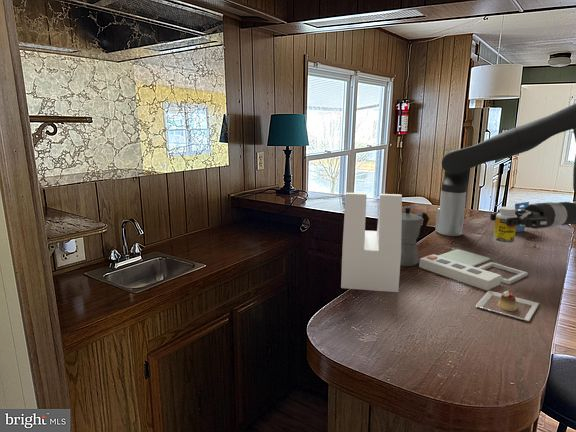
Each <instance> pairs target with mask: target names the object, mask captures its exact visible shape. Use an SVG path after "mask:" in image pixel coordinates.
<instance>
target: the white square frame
mask: <svg viewBox="0 0 576 432" xmlns="http://www.w3.org/2000/svg"><path fill="white" fill-rule="evenodd" d="M493 267H494V268H497V269H499V270H503V271H506V272H508V273H509V272H510V273H513V274H515V275H514V276H511V277H509V278H505V277H502V276H501V281H500V283H504V284H507V285H511V284H513V283H515V282H517V281H520V280H521V279H523V278H525V277H528V272H527V271H523V270H520V269H517V268H513V267H510V266H506V265H503V264H501V263H497V262H494V261H490V262H488V263H485V264H483V265H481V266H480V265H479V267H477V268H480V269H483V270H487V269H490V268H493Z"/></svg>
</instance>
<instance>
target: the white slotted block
mask: <svg viewBox="0 0 576 432" xmlns="http://www.w3.org/2000/svg"><path fill="white" fill-rule="evenodd" d="M379 194H380V195H379V203H378V204H379V205H378V214H377V215H378V217H377V226H376V227H377V228H376V230H366V217H367V216H366V215H367V195H368V194H367V193H365V192H345V197H344V199H345V200H344V202H345V203H344V219H343V233H342V250H341V251H342V256H341V278H340V279H341V281H340V283H341V284H340V288H341V289H351V290H365V291H374V292H375V291H378V292H387V293H388V292H391V293H399V286H400V274H401V273H400V272H401V265H400V261H401V228H402V213H403V196H402V195H403V194H398V193H397V194H396V193H391V194H390V193H379Z"/></svg>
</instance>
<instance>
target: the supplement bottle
mask: <svg viewBox="0 0 576 432" xmlns="http://www.w3.org/2000/svg"><path fill="white" fill-rule="evenodd" d="M499 209H500V213H498V214H497V215H496V220H494V222H495V223H494V230H493V237H492V239H493V241H494V243H498V244H501V245H512V244H513V243H514V242H515V238H516V237H515V236H516V232H515V231H516V225H515V226H507V225H506V222H507V218H513V217H517V216H516V215H515V210H516V209H515V207H511V206H501V207H499Z"/></svg>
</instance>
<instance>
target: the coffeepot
mask: <svg viewBox="0 0 576 432" xmlns="http://www.w3.org/2000/svg"><path fill="white" fill-rule="evenodd" d="M404 210H405V212H402V228H401V261H400V267H401V266H403V267H412V266H417V265H418V264H419V263H420V258H419V250H418V249H419V248H418V243H417V239H420V238H422V237H423V236H424V235H425V234H424V233H425V232H426V228H427V225H428V222H429V221H430V220H429V218H430V217H429V215H428V214H427V213H426V212H421V213H420V212H417V213H415V214H414V213H411V208H410V207H405V209H404Z"/></svg>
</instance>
